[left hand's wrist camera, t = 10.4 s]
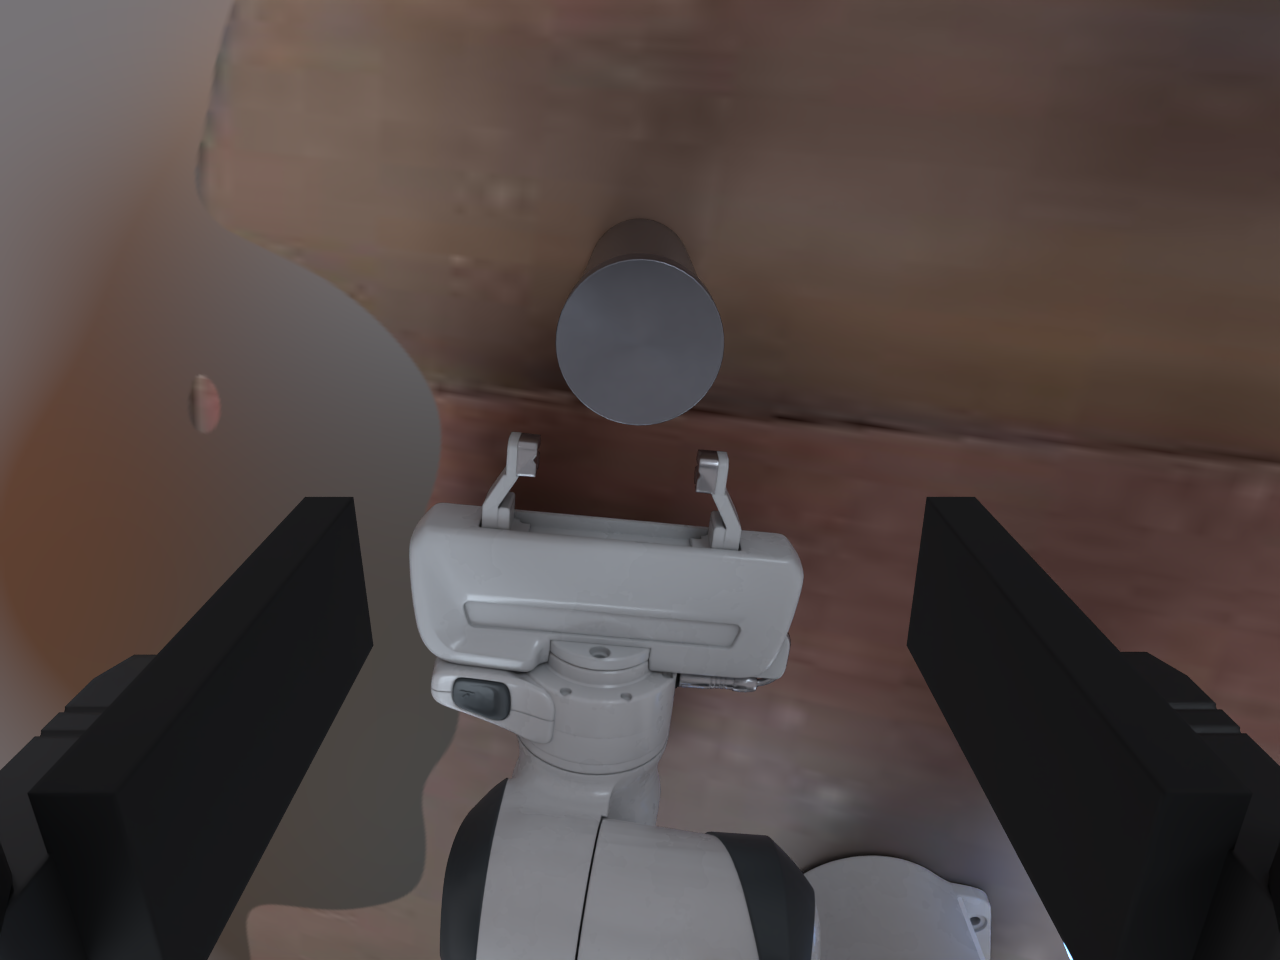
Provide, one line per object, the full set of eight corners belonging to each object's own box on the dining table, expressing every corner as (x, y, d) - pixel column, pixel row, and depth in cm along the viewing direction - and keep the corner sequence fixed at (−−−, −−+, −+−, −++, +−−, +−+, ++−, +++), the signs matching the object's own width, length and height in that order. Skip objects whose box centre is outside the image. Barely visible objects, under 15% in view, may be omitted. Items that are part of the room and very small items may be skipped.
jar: (612, 335, 47) (598, 438, 31) (574, 241, 45) (537, 298, 29) (704, 299, 46) (738, 385, 30) (668, 202, 45) (685, 238, 28)
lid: (596, 434, 32) (594, 448, 31) (533, 289, 30) (528, 297, 29) (742, 379, 31) (747, 391, 30) (687, 227, 29) (689, 231, 28)
